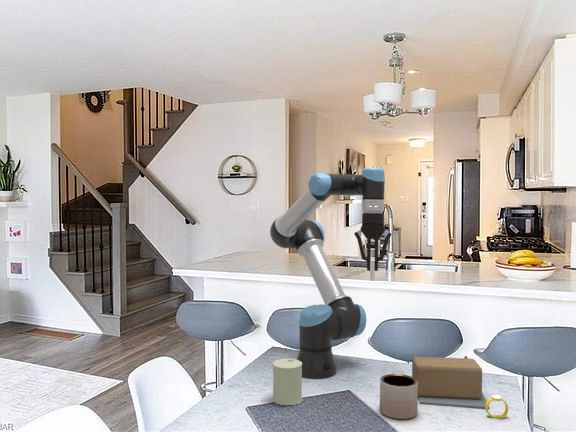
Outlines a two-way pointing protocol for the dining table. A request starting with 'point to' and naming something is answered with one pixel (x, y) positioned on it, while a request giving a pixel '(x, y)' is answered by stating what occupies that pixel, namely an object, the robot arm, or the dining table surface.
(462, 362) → the wooden block
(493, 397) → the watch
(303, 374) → the robot arm
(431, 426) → the dining table surface
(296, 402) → the can
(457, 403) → the mat
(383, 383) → the planter
